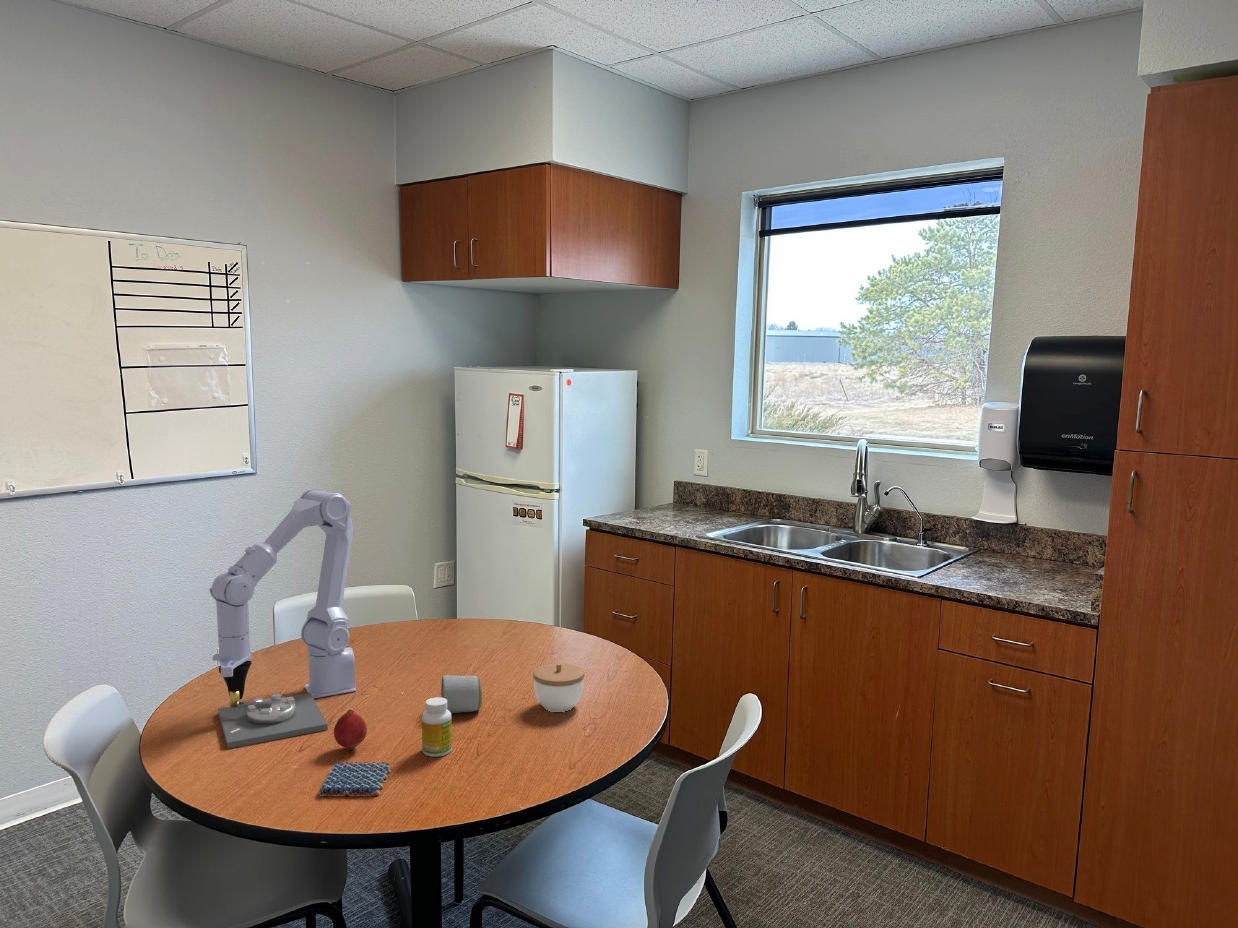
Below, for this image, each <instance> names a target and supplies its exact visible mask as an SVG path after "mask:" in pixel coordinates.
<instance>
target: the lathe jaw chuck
mask: <svg viewBox="0 0 1238 928" xmlns="http://www.w3.org/2000/svg"><path fill="white" fill-rule="evenodd" d="M285 697H286V696H283V694H282V693H279V694H278V693H277V694H276V693H275V694H272V695H271V697H267V698H263V697H260V696H259V697H256V698H254V699H252V700H251V701H241V699H240V693H239V690H231V691H230V697H229V706H230V707H232V708H235V707H247V720H248V721H249V722H250V723H252V724H257V725H271V724H277V723H281V722H284V721H287V720H289V719H291V718H292V717H294V715H295V714H296V706H295V699H294V698H293V697H288V696H287V697H288V698H285Z"/></svg>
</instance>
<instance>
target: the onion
mask: <svg viewBox="0 0 1238 928" xmlns="http://www.w3.org/2000/svg"><path fill="white" fill-rule="evenodd" d="M367 732H368V727H367V724H366V721H365V720H364V719H363V717H362V716H361V715H359V714H358V713H356V712H355V710H354V708H349V709H348V710H347V711H346V712H345V713H344V714H342V715H341V716H340V717H339V718H338V720H337V721H336V723H335V726H334V728H333V735H334V736H333V737H334V740H335V741H336V743H337V744H338V745H339V746H341V747H343V748H344V749H347V750H348V751H353V750H355V748H357V747H358V746H359V745H360V744H361V743H362V742H364V741H365V737H366V736H367Z"/></svg>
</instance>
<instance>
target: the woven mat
mask: <svg viewBox="0 0 1238 928" xmlns="http://www.w3.org/2000/svg"><path fill="white" fill-rule="evenodd" d="M390 767H391V764H390V763H389V762H386V763H385V761H382V762H381V764H380V762H375V761H372V763H371V762H368V763H367V761H364V762H363V763H362V762H359V763H358V762H357V761H355V762H354V763H352V762H350V763H349V762H348V761H345V763H344V762H342V763H340V762H339V761H337V762H336V764H334V765H332V767H331V770H329V771H328V775H327V776H326V777H325V780H324V781H323V782H324V783H323V784H322V785H321V786H320V791H319V792H317V794H318V796H320V797H326V798H327V797H348V796H349V797H377V796H380V795H381V790H382V789H383V788H384V783H387V779H388V778H389V776H388V774H390V773H391V771H392V770H391V768H390Z"/></svg>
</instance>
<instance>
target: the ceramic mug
mask: <svg viewBox="0 0 1238 928" xmlns="http://www.w3.org/2000/svg"><path fill="white" fill-rule="evenodd" d="M482 684H483V683H482V678H480V677H479V676H476V675H442V677H441V684H440V685H441V686H440V688H441V690H440V692H441V693H440V694H441V695H440V697H441V698H445V699H447V710H449V711H450V712H451V714H457V713H458V714H459V713H460V714H461V713H471V712H477V711H479V710H480V709H481V708H482V701H483V687H482V686H483V685H482Z"/></svg>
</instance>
